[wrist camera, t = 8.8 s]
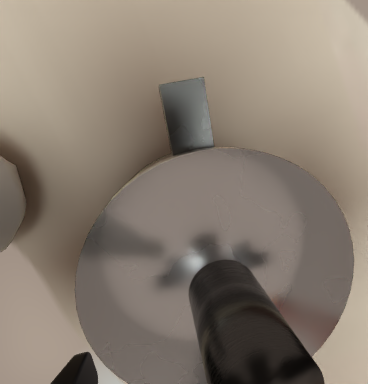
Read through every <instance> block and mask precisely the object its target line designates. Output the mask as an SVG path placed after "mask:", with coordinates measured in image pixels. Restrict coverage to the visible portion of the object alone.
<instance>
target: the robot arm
mask: <svg viewBox="0 0 368 384" xmlns="http://www.w3.org/2000/svg"><path fill="white" fill-rule="evenodd" d="M51 384H98V375H97V371H96V368H95V365H94V362H93V359H92V356H91V354H90V353H89V352H84V353H81V354H77V355H75V356H74V357H73V358H72V359H71V360H70V361H69V362H68V363H67V365H66V366H65V367H64V368H63V369H62V371H61V372H60V373H59V374H58V375H57V377H56V378H55V379H54V380H53V381H52V382H51Z"/></svg>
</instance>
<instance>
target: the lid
mask: <svg viewBox="0 0 368 384" xmlns="http://www.w3.org/2000/svg"><path fill="white" fill-rule="evenodd" d="M353 268H354V255H353V244H352V240H351V235H350V231H349V228H348V225H347V223H346V220H345V218H344V215H343V213H342V211H341V210H340V208H339V206H338V204H337V203H336V201H335V199H334V198H333V197H332V196H331V194H330V193H329V192H328V191H327V189H326V188H325V187H324V186H323V185H322V184H321V183H320V182H319V181H317V180H316V179H315V178H314V177H313V176H312V175H311V174H309V173H308V172H306V171H305V170H303V169H302V168H300V167H299V166H297V165H295V164H293V163H291V162H289V161H287V160H284V159H282V158H280V157H277V156H274V155H271V154H267V153H264V152H260V151H255V150H249V149H242V148H235V147H211V148H203V149H196V150H192V151H188V152H184V153H181V154H177V155H174V156H172V157H169V158H167V159H165V160H162V161H160V162H158V163H156V164H154V165H152V166H151V167H149V168H147V169H146V170H144V171H142V172H141V173H139V174H138V175H137V176H135V177H134V178H133V179H132V180H130V181H129V182H128V183H126V184H125V185H124V186H123V187H122V188H121V189H120V190H119V191H118V192H117V193H116V194H115V195H114V196H113V197H112V199H111V200H110V201H109V203H108V204H107V205H106V207H105V208H104V209H103V211H102V212H101V213H100V215H99V217H98V218H97V220H96V222H95V223H94V225H93V227H92V229H91V231H90V232H89V234H88V236H87V238H86V241H85V243H84V246H83V249H82V251H81V254H80V258H79V262H78V267H77V271H76V283H75V297H76V308H77V312H78V316H79V320H80V324H81V327H82V329H83V332H84V334H85V336H86V339H87V341H88V342H89V344H90V346H91V347H92V349H93V350H94V352H95V354H96V355H97V356H98V357H99V358H100V360H101V361H102V362H103V363H104V364H105V366H106V367H108V368H109V369H110V370H111V371H112V372H113V373H114V374H115V375H117V376H118V377H119V378H121V379H122V380H124V381H125V382H127V383H128V384H324V378H323V375H322V372H321V370H320V369H319V367H318V366H317V364H316V363H315V361H314V360H313V359H312V356H313V355H314V354H315V353H316V352H317V351H318V350H319V348H320V347H321V346H322V345H323V344H324V342H325V341H326V340H327V338H328V337H329V336H330V334H331V333H332V331H333V330H334V328H335V326H336V325H337V323H338V321H339V319H340V317H341V315H342V313H343V310H344V308H345V306H346V303H347V300H348V297H349V294H350V290H351V284H352V279H353Z"/></svg>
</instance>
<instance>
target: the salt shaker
mask: <svg viewBox="0 0 368 384" xmlns="http://www.w3.org/2000/svg"><path fill="white" fill-rule="evenodd" d="M25 208H26V198H25V195H24V191H23V188H22V185H21V181H20V178H19V174H18V171H17V168H16V165H14V164H12V163H10V162H9V161H7V160H5V159H4V158H3V157H1V156H0V252H2V251H3V250H5V249H6V248H7V247H8V245H9V244H10V243H11V242H12V240H13V238H14V236H15V234H16V232H17V230H18V228H19V226H20V224H21V222H22V220H23V218H24V214H25Z"/></svg>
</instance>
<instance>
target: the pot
mask: <svg viewBox="0 0 368 384" xmlns="http://www.w3.org/2000/svg"><path fill="white" fill-rule="evenodd" d="M159 92H160V97H161V102H162V107H163V112H164V118H165V123H166V128H167V133H168V138H169V144H170V149H171V154H169V155H167V156H164V157H162V158H159V159H158V160H156V161H154V162H152V163H151V164H149V165H147V166H146V167H145V168H144V169H142V170H141V171H140V172H138V173H137V174H136V175H135V176H137V175H138V174H139V173H141V172H142V171H144V170H146V169H147V168H149V167H151V166H152V165H154V164H156V163H158V162H160V161H162V160H165V159H167V158H169V157H172V156H174V155H177V154H181V153H184V152H188V151H192V150H196V149H203V148H211V147H214V143H213V136H212V129H211V122H210V116H209V109H208V102H207V96H206V89H205V82H204V77H201V78H196V79H190V80H184V81H178V82H172V83H167V84H161V85H159ZM135 176H134V177H135ZM134 177H133V178H134ZM133 178H132V179H133ZM132 179H131V180H132Z"/></svg>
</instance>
